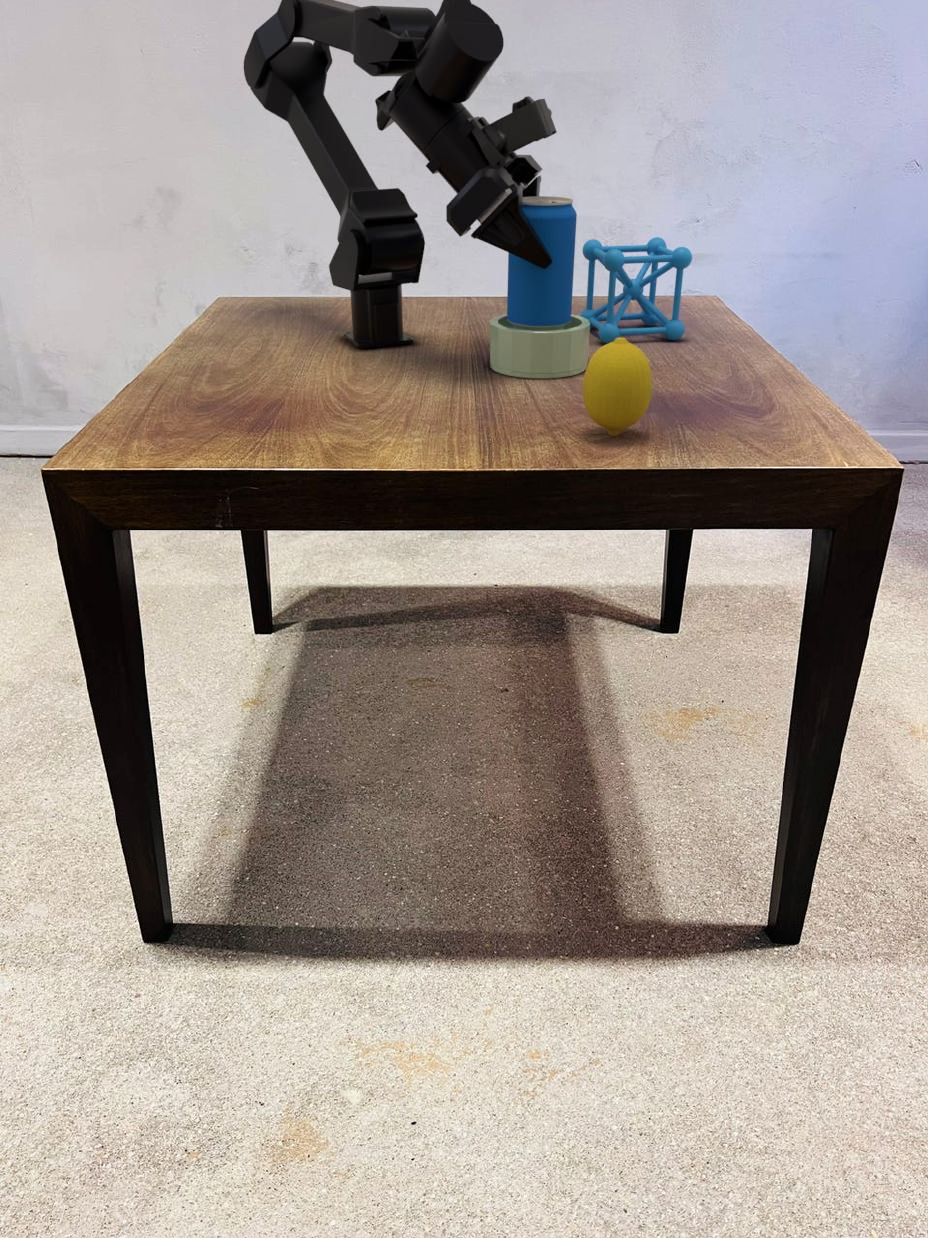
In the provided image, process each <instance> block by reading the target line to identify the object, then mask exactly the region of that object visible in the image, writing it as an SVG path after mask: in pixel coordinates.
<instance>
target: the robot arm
mask: <svg viewBox="0 0 928 1238" xmlns="http://www.w3.org/2000/svg"><path fill="white" fill-rule="evenodd" d="M436 13H437V14H435V13H434V12H433V10H432V9H430V8H428V7H416V6H415V7H414V6H413V7H412V6H392V5H391V6H390V5H388V6H387V5H367V6H359V5H354V4H352V3H351V4H350V3H347V2H343V1H339V0H281V1H280V2H279V6H278V8H277V11H276V12H275V13H274V14H273V15H272V16H270V17H269V18H268V19H267V20H266V21H265V22H263V23H262V24H261V25H260V26H259V27H257V29H256V30H255V31H254V32H253V34H252V36H251V40H250V42H249V44H248V47H247V50H246V52H245V54H244V57H243V58H244V59H243V74H244V75H243V76H244V78H245V82H246V84H247V86H248V87H249V88H250V90H251V92H252V94H253V95H254V96H255V98H256V100H258V102H259V103H260V104H261V105H262V107H263V108H264V110H267V111H268V112H269V113H271V114H273V115H274V116H277V117H278V118H280V119H281V120H284V121H285V122H287V123H288V125H289V127H290V128H291V130H292V132H293V134H294V136H295V138H296V139H297V141H298V143H299V144H300V147H301V148H302V151H303V152H304V154H305V155H306V157H307V159H308V160H309V162H310V165H311V166H312V168H313V169H314V171H315V173H316V175H317V177H318V178H319V180H320V182H321V184H322V185H323V187H324V190H325V191H326V193H327V194H328V197H329V198H330V200H331V201H332V204H333V205H334V207H335V209H336V210H337V213H338V215H339V224H338V231H337V238H336V239H337V242H338V244H337V247H336V249H335V251H334V253H333V256H332V258H331V260H330V263H329V264H328V269H329V274H330V279H331V282H332V285H333V286H334V287H337V288H340V289H344V290H347V291H350V309H351V311H350V312H351V325H352V331H346V332H345V331H344V332H343V338H344V339H346V340H347V341H349V342H350V343H351V345H354V346H355V347H356V348H358V349H368V348H377V347H388V346H398V345H400V346H401V345H409V344H414V342H415V341H414V338H413V337H412V336H410V335H409V334H407V333H406V332H404V315H403V288H402V287H403V286H402V285H405V284H419V282H420V275H421V270H422V265H423V259H424V253H425V246H426V242H425V236H424V233H423V230H422V228H421V226H420V224H419V222H418V220H417V218H418V217H419V215H418V213H417V212H416V211H414V209H413V208H412V206H410V203H409V202H408V199H407V197H406V194H405V193H404V192H403V191H402V189H400V188H399V187H396V188H395V187H393V188H380V189H379V187H377V185H376V182H375V180H373V178H372V175H371V174H370V173H369V171H368V169H367V168H366V166H365V164H364V162H363V161H362V159H361V157H360V155H359V153H358V152H357V150H356V149H355V147H354V145H353V144H352V141H351V140H350V138H349V136H348V134H347V133H346V131H345V129H344V128H343V126H342V124H341V123H340V121H339V119H338V117H337V116H336V114H335V112H334V111H333V108H332V107H331V105H330V103H329V101H328V99H326V96H325V89H326V83H327V78H328V72H329V70H330V68H331V66H332V64H333V57H332V53H331V48H330V47H332V48H334V49H337V50H340V51H343V52H346V53H349V54H351V55H352V56H353V57H352V59H353V63H354V65H356V66H357V67H358V68H360V70H362V71H363V72H365V73H367V74H368V75H369V76H371V77H377V78H378V77H398V79H397V80H396V82H395V83H394V86H393V87H392V89H391V90H390V89H388V90H386V91H385V92H383V93H382V94H381V95H379V96H378V97H376V98H375V101H374V103H375V105H376V126H377V129H378V130H379V131H381V132H382V131H384V130H386V129H387V128H389V127H390V126H391V125H392V124H396V126H398V128H399V129H400V130H401V131H402V132H403V134H404V135H405V136H406V137H407V138H408V139H409V141H411V142H412V144H413V145H414V146H415V147H416V148H417V150H418V151H419V152H420V153H421V154H422V155H423V157H424V158H425V159H426V160H427V161H428V162H427V164H425V167H426V168H427V170H428V171H429V172H430V173H431V174H432V175H434V174H435V175H436V174H438V173H439V175H440V177H442V178H443V179H444V180H445V182H446V183H447V184H448V185H449V186H450V188H451V189H452V190H453V191H454V192H455V193H456V195H455V196H454V197H453V198H452V199H451V200H450V201H449V203H448V204H447V205H446V206H445V207H446V209H445V210H446V211H445V213H446V216H445V217H446V219H445V220H446V222H447V224H448V225H449V226H450V227H451V228H452V230H454V232H455V233H456V234H457V235H458V236H459V237H460V238H461V237H463V236H465V235H466V234H468V233H469V232H470V231H471V230H472V225H473V224H474V223H475V222H476V221H477V222H479V225H478V226H477V228H475V230H474V231H472V233H471V234H470V237H471V238H472V239H474V240H476V239H477V240H480V241H482V242H484V243H486V244H489V245H491V246H493V247H495V248H498V249H500V250H502V251H505V252H507V253H511V254H513V255H515V256H517V257H519V258H521V259H524V260H526V261H528V262H530V263H532V264H534V265H536V266H538V267H540V268H543V269H546V268H547V267H548V266H549V265H550V264H551V263H552V261H553V260H552V258H551V256H550V255H549V253H548V251H547V250H546V248H545V246H544V245H543V243H542V241H541V240H540V238H539V237H538V235H537V233H536V232H535V230H534V229H533V227H532V225H531V224H530V222H529V221H528V219H527V217H526V216H525V214H524V212H523V210H522V197H533V196H540V193H541V191H540V190H541V183H542V175H539V174H540V173H541V172H542V171H543V168H542V167H541V165H540V164H539V163H538V162H537V160H535V158H534V157H533V156H532V155H531V154H517V153H516V151H518V150H520V149H522V148H525V147H526V146H528V145H531V144H533V143H535V142H539V141H541V140H543V139H547V138H550V137H552V136H553V135H555V134H557V133H558V131H557V129H556V127H555V123H554V121H553V118H552V115H553V112H552V110H551V109H550V108H549V107H548V103H547V101H546V99H545V98H539V99H536V100H534V99H533V97H531V96H530V95H527V96H524V97H523V98H522V99H520V100H518V101H515V102H513V103H512V107H511V112H510V113H509V114H506V115H504V116H502V117H500V118H498V119H497V120H495V121H492V122H491V123H490V122H488V120H487V119H486V118H485V117H483V116H473V115H472V113H471V112H470V111H469V110H468V108H466V106H465V105H464V104H463V103H465V102H467V101H468V100H469V99H470V98H471V96H472V95H473V94H474V93H475V91H476V90H477V88H478V87H479V85H480V84H481V82H482V81H483V79H484V78H485V77H486V75H487V74H488V72H489V71H490V70H491V68H492V67H493V65H495V63H496V61H497V59H498V58H499V57H500V55H501V54H502V52H503V50H504V45H505V44H504V35H503V32H502V29H501V27H500V25H499V24H498V23H496V22H495V21H494V19H493V18H492V17H491V16H490V15H489V13H487V12H486V10H483V9H482V8H481V7H479V6H478V5H475V3H472V1H471V0H442V2H441V4H440V7H439V9H438V11H437V12H436ZM295 38H300V39H301V38H303V39H306V40H310V41H313V43H312V42H310V41H294V40H295Z"/></svg>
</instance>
